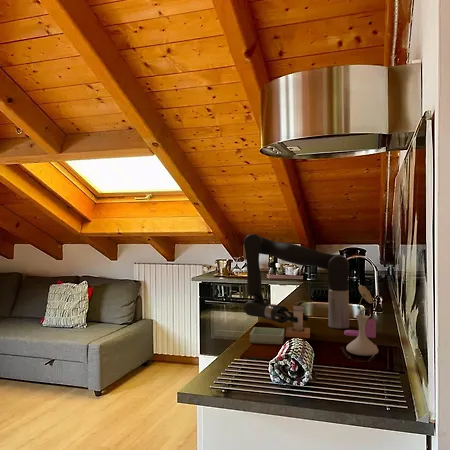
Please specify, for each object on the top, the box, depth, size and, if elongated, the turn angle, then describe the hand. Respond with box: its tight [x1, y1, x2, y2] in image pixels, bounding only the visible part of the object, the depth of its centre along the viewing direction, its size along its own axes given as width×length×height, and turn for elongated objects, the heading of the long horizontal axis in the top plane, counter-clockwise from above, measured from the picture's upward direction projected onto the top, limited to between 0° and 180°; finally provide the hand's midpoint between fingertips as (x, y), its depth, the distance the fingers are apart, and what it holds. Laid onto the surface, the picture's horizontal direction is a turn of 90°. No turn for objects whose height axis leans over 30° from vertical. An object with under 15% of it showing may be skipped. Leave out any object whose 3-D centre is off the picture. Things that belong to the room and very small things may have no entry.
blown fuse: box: [292, 305, 304, 332], centre depth 196 cm, size 4×4×12 cm
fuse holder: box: [285, 326, 311, 339], centre depth 196 cm, size 10×10×2 cm
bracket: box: [343, 318, 377, 339], centre depth 196 cm, size 13×6×7 cm, turn 69°
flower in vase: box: [345, 284, 379, 357], centre depth 167 cm, size 13×11×25 cm
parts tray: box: [249, 326, 286, 345], centre depth 186 cm, size 13×13×4 cm
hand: (302, 319), depth 194 cm, fingers open, 5 cm apart
